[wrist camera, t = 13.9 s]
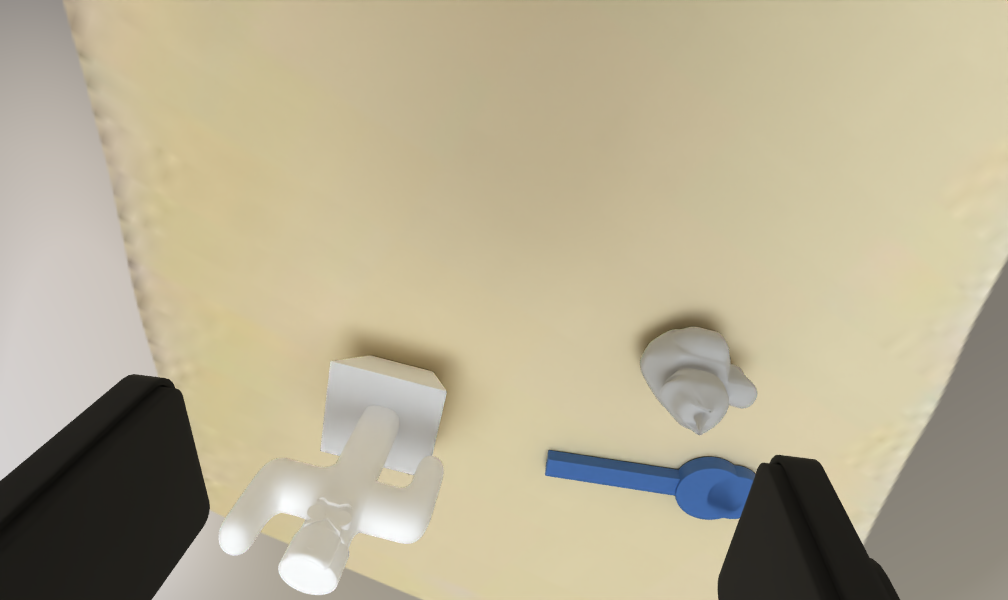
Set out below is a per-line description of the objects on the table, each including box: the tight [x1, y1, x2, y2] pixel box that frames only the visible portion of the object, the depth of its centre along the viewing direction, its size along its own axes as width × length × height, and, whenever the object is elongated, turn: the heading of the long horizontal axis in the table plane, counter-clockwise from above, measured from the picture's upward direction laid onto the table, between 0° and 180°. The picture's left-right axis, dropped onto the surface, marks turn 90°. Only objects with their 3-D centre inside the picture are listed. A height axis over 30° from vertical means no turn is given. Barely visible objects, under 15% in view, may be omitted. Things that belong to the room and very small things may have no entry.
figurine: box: [218, 355, 447, 595], centre depth 33 cm, size 7×9×15 cm
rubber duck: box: [640, 327, 757, 435], centre depth 32 cm, size 5×7×8 cm
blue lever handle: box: [545, 450, 755, 520], centre depth 40 cm, size 15×5×1 cm, turn 84°
